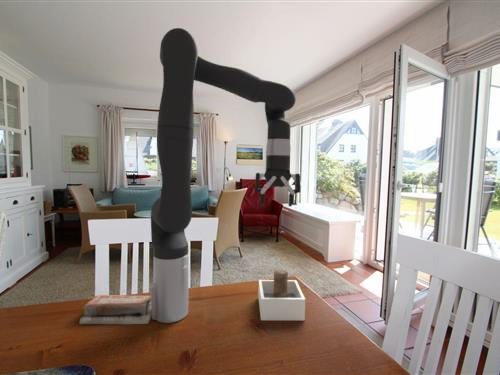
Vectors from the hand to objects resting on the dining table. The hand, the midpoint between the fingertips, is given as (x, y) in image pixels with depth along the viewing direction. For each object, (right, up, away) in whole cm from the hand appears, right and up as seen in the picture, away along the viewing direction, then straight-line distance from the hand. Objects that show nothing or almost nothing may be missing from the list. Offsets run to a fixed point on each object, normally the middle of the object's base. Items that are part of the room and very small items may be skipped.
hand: (276, 205), depth 83 cm
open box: (0, -30, -6) cm, 31 cm away
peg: (0, -30, -6) cm, 31 cm away
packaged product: (-44, -30, -10) cm, 55 cm away
